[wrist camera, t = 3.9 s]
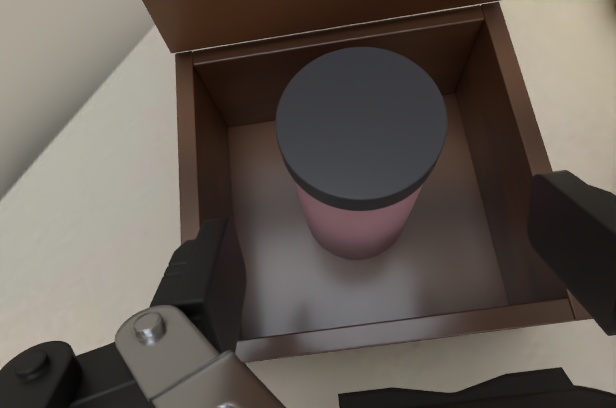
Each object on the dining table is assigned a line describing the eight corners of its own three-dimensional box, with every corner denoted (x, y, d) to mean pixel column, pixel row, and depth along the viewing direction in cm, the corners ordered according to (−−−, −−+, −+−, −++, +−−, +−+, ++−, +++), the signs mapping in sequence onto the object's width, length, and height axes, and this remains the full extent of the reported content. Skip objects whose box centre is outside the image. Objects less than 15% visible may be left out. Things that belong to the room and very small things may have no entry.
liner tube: (292, 247, 23) (253, 178, 14) (319, 154, 25) (300, 33, 15) (396, 273, 22) (430, 218, 13) (417, 174, 24) (461, 60, 14)
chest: (525, 326, 22) (599, 317, 15) (232, 363, 22) (184, 370, 16) (462, 86, 26) (499, 1, 20) (216, 124, 27) (174, 53, 20)
